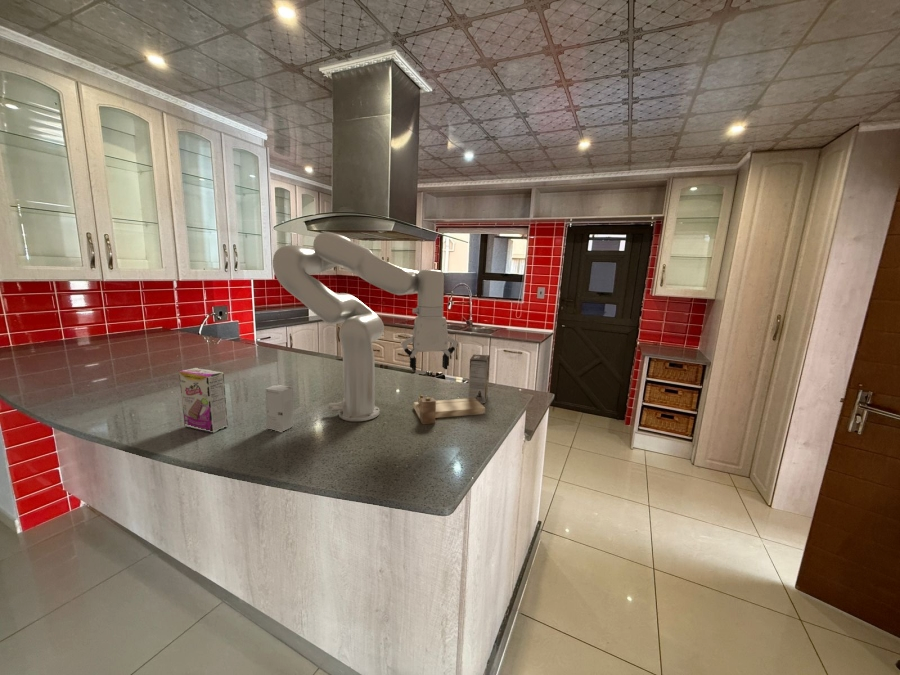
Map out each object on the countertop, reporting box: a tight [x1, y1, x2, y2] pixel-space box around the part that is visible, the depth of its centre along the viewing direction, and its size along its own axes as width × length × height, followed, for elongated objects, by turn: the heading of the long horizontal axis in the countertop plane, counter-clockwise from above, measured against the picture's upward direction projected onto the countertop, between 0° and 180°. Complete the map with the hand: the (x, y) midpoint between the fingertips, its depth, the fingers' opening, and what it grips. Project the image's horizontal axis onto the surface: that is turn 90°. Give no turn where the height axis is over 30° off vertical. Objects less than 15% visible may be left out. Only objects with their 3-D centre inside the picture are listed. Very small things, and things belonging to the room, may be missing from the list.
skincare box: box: [265, 384, 294, 431], centre depth 97 cm, size 6×4×12 cm
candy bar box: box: [178, 367, 229, 431], centre depth 96 cm, size 11×5×16 cm, turn 71°
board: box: [413, 397, 486, 420], centre depth 116 cm, size 22×10×2 cm, turn 107°
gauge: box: [417, 394, 437, 425], centre depth 110 cm, size 4×12×8 cm, turn 17°
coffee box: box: [467, 354, 490, 404], centre depth 127 cm, size 9×6×16 cm
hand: (429, 369), depth 104 cm, fingers open, 9 cm apart
